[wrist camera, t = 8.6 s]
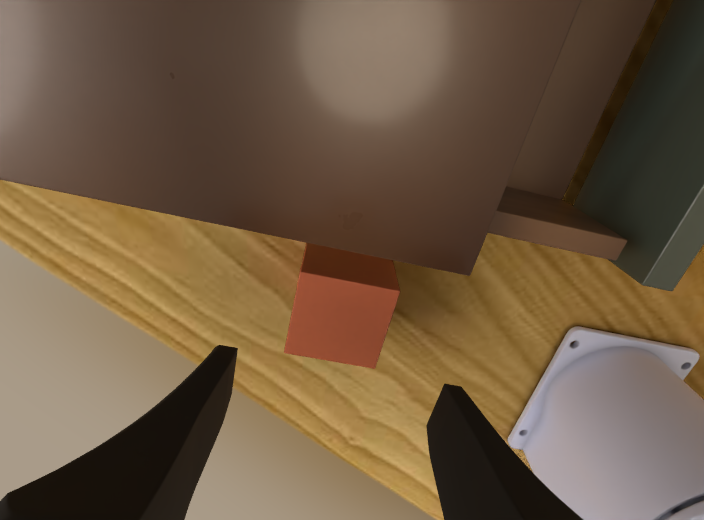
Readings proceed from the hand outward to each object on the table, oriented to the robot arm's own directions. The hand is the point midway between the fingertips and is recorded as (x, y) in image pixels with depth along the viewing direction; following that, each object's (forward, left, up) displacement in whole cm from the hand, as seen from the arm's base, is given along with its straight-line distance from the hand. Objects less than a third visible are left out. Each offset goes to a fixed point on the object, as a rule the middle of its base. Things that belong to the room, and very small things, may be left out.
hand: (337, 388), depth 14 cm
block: (0, 0, -8) cm, 8 cm away
